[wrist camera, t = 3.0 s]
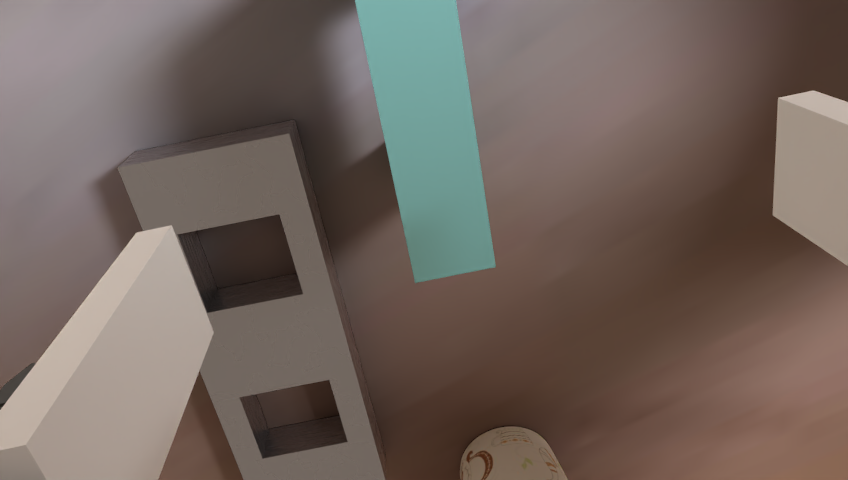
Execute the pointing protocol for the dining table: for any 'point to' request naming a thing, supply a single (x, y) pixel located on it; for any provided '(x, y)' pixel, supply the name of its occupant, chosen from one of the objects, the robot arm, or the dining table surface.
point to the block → (265, 301)
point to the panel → (429, 133)
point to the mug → (510, 457)
